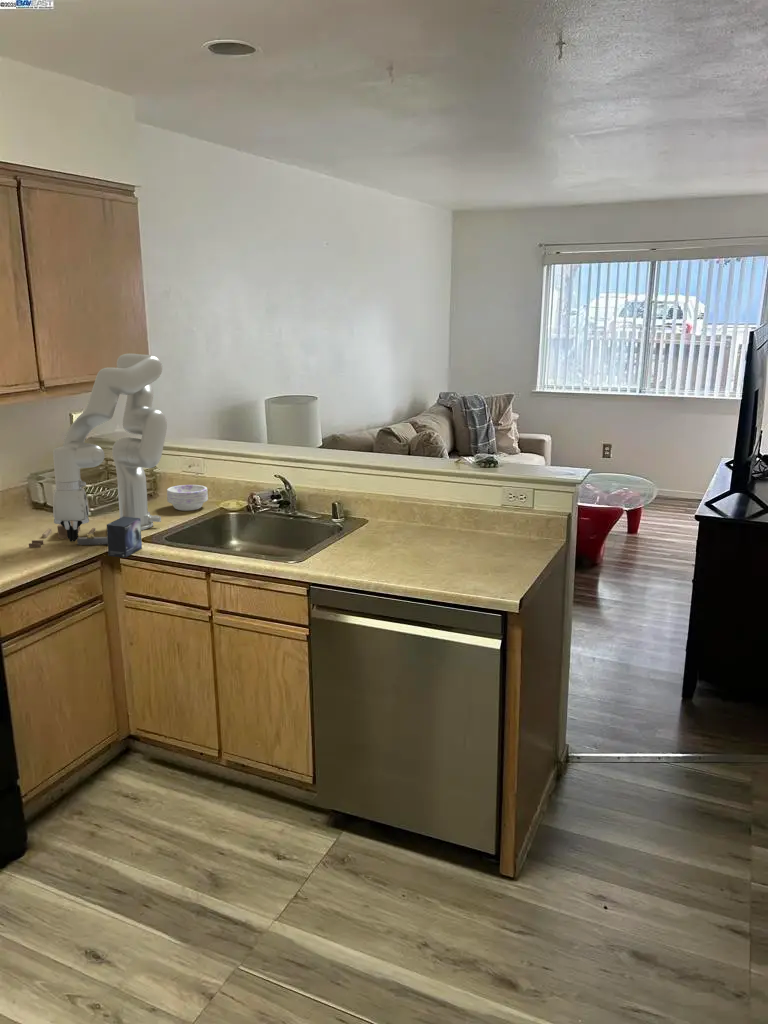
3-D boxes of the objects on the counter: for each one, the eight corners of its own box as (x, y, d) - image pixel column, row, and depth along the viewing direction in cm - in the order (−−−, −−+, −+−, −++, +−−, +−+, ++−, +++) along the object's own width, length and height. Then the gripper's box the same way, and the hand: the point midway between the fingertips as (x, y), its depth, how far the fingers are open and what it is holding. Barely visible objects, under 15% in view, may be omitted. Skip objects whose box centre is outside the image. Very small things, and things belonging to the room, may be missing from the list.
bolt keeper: (43, 543, 255) (43, 540, 255) (40, 547, 251) (40, 543, 251) (32, 543, 254) (32, 540, 254) (28, 547, 251) (28, 543, 251)
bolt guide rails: (95, 531, 270) (95, 527, 270) (91, 536, 263) (90, 533, 263) (48, 532, 268) (48, 528, 267) (42, 537, 261) (42, 534, 261)
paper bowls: (191, 501, 313) (190, 481, 311) (216, 507, 304) (215, 487, 302) (159, 508, 301) (158, 488, 299) (184, 515, 292) (183, 494, 290)
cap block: (80, 531, 270) (79, 516, 269) (74, 538, 262) (72, 523, 260) (65, 531, 269) (63, 516, 268) (58, 539, 261) (57, 523, 260)
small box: (126, 558, 242) (124, 526, 240) (107, 556, 244) (105, 524, 241) (143, 548, 252) (141, 517, 250) (124, 546, 254) (122, 515, 251)
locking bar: (117, 542, 257) (116, 533, 257) (115, 544, 255) (115, 534, 255) (78, 543, 256) (78, 533, 255) (77, 545, 254) (76, 535, 253)
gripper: (95, 482, 254) (99, 536, 259) (47, 483, 252) (52, 537, 257) (90, 488, 247) (94, 543, 252) (40, 488, 245) (46, 544, 250)
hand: (73, 540), depth 254 cm, fingers closed
